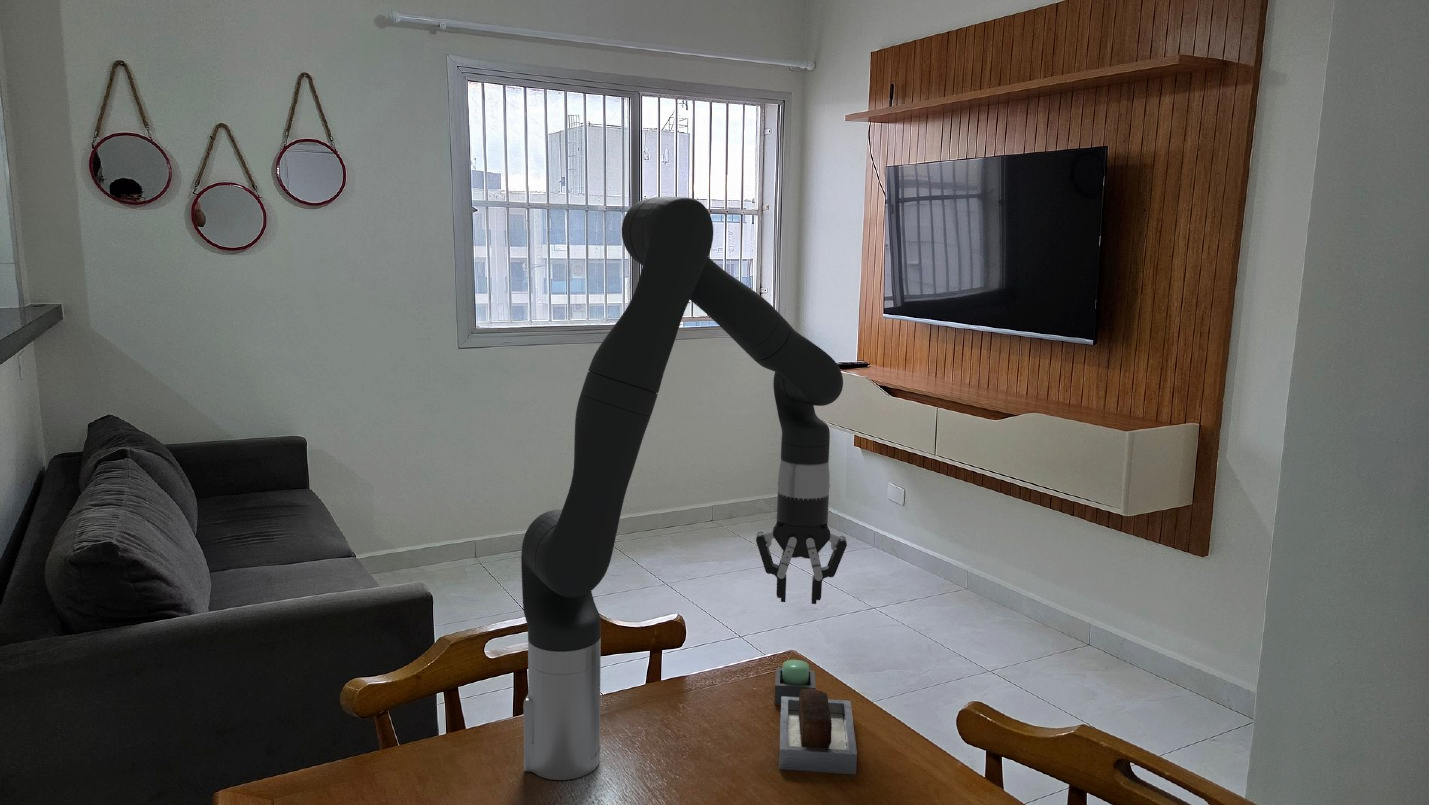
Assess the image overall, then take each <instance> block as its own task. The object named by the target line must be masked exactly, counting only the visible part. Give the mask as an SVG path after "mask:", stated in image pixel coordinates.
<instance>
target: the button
mask: <svg viewBox="0 0 1429 805" xmlns="http://www.w3.org/2000/svg"><path fill="white" fill-rule="evenodd" d="M809 670H810V664H809V663H808V662H806V661H804V660H801V659H800V660H799V659H788V660H786V661H784V662H783V663H782V682H783V683H784V684H795V685H807V684H808V680H809Z"/></svg>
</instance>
